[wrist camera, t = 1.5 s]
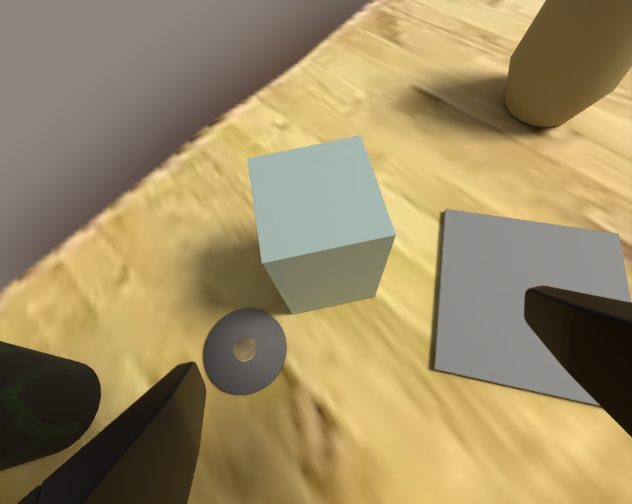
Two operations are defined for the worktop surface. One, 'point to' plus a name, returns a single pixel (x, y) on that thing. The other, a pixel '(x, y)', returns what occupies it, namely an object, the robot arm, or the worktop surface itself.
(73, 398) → the cup
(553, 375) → the mat
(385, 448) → the worktop surface
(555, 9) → the squeeze bottle
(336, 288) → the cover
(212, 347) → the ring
